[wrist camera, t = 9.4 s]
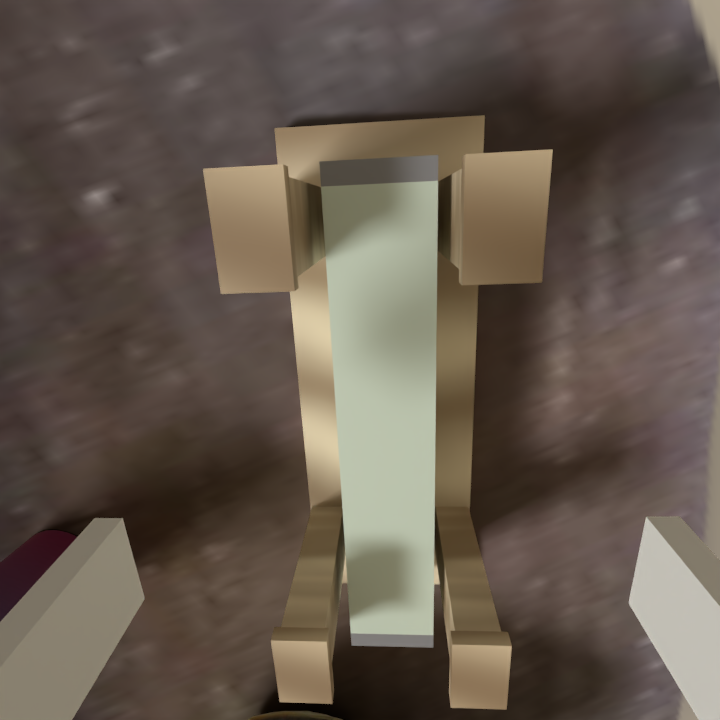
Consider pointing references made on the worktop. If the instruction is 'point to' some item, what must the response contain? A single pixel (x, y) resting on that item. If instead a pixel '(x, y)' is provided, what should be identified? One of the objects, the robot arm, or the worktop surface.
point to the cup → (29, 565)
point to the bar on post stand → (453, 362)
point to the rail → (385, 387)
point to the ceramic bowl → (293, 716)
